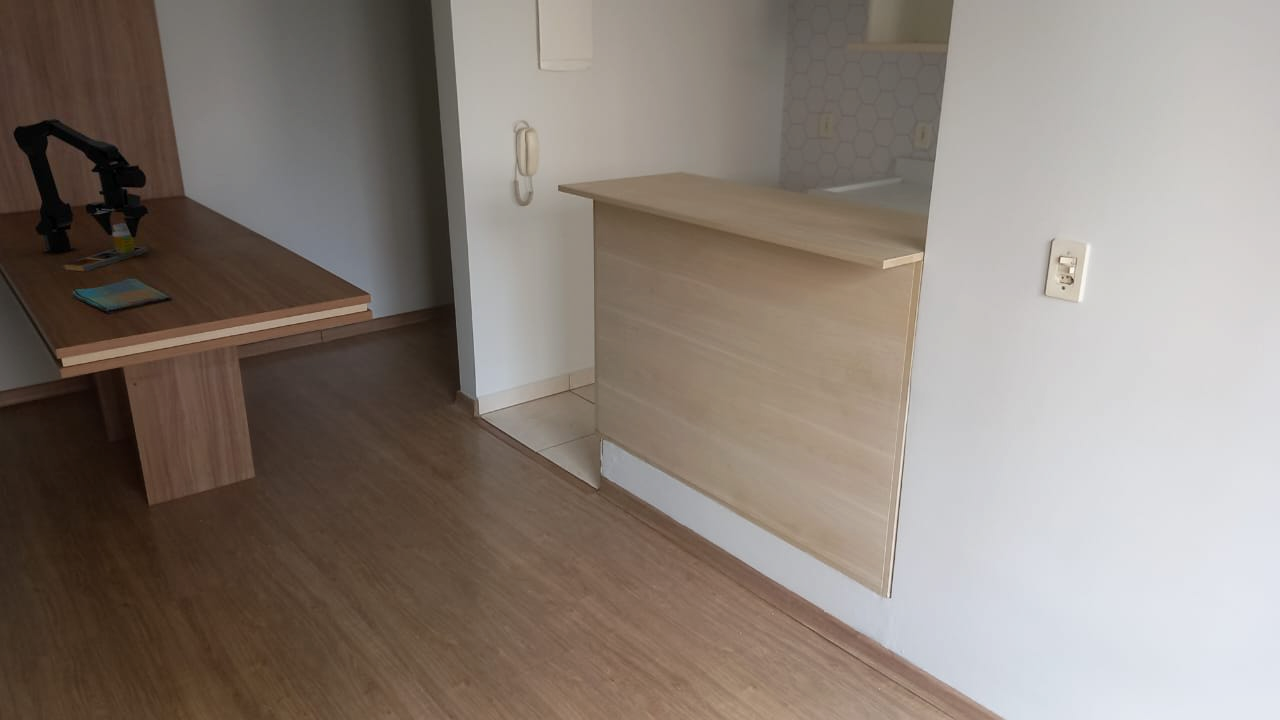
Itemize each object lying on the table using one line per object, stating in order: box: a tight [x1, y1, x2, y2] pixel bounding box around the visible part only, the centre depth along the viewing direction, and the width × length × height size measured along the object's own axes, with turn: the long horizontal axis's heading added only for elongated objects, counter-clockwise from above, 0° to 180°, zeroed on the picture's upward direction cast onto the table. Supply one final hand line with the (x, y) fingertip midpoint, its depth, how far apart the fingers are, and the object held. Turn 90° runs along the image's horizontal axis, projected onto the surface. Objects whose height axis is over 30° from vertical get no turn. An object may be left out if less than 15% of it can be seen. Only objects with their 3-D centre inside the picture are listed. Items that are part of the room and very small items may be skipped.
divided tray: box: [61, 246, 149, 273], centre depth 281 cm, size 9×24×2 cm, turn 164°
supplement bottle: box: [111, 222, 136, 253], centre depth 286 cm, size 5×5×10 cm
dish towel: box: [71, 278, 173, 314], centre depth 245 cm, size 17×23×2 cm
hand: (122, 236), depth 286 cm, fingers open, 9 cm apart
